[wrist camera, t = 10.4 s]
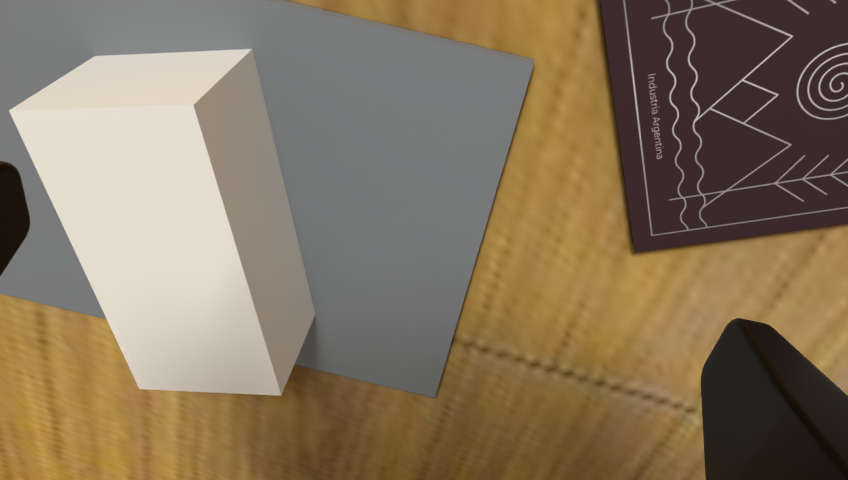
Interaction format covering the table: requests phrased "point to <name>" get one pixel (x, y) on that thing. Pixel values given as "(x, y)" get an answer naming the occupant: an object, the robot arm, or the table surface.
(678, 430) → the table surface
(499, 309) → the table surface
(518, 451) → the table surface
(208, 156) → the block
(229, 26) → the mat
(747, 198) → the chocolate bar
